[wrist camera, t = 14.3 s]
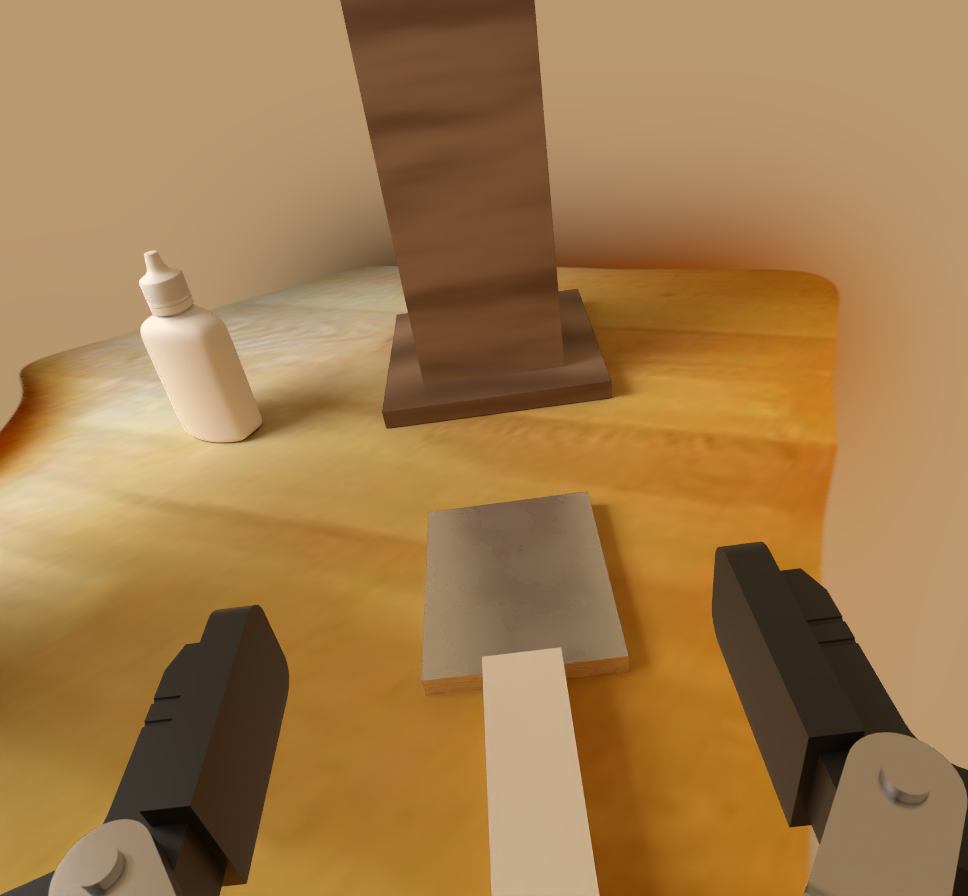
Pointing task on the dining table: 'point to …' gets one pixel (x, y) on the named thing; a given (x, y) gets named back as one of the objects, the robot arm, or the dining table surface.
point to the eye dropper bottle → (195, 359)
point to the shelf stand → (469, 211)
